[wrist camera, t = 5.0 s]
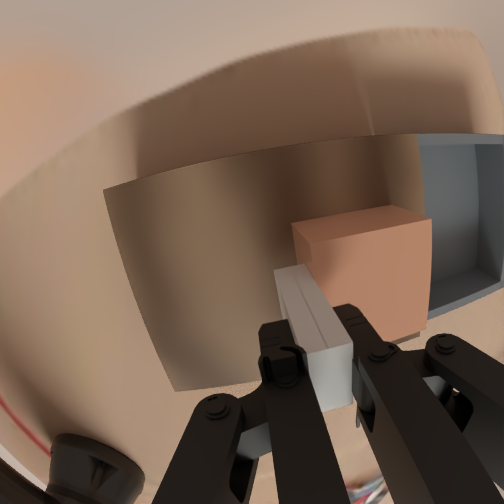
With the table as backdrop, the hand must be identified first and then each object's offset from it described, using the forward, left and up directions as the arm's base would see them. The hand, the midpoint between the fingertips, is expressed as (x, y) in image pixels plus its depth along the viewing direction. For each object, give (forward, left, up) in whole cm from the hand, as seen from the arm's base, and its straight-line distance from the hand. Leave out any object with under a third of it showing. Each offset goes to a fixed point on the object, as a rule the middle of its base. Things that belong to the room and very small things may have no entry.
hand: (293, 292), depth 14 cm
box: (+15, 0, -8) cm, 17 cm away
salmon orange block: (+4, 0, -2) cm, 4 cm away
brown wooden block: (0, 0, -8) cm, 8 cm away
